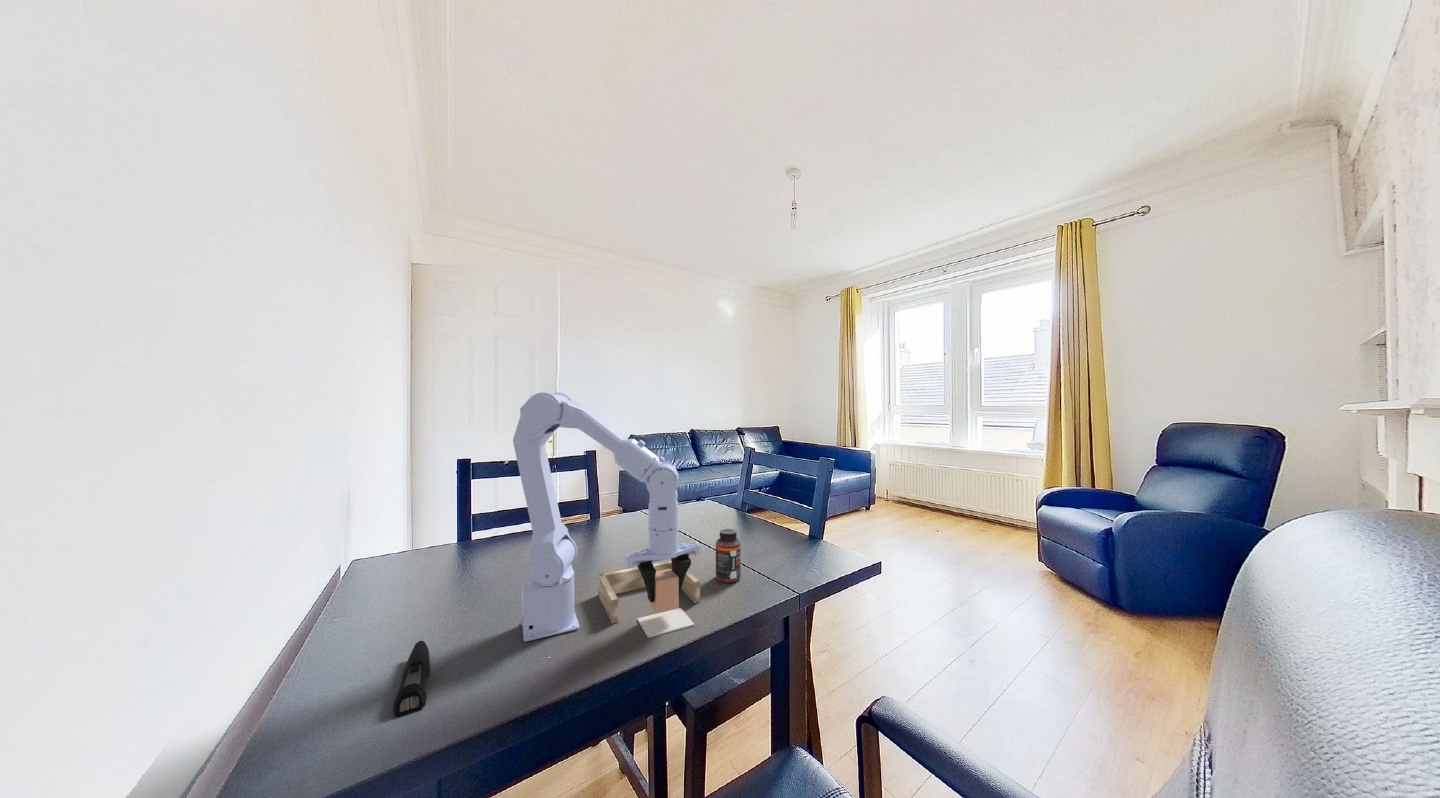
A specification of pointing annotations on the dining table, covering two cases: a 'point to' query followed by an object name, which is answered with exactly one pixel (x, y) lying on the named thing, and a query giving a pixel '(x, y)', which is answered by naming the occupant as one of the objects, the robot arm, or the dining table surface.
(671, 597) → the block
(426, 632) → the dining table surface
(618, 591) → the wooden u-shaped frame
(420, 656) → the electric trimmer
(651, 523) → the robot arm
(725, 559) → the supplement bottle
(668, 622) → the pad
